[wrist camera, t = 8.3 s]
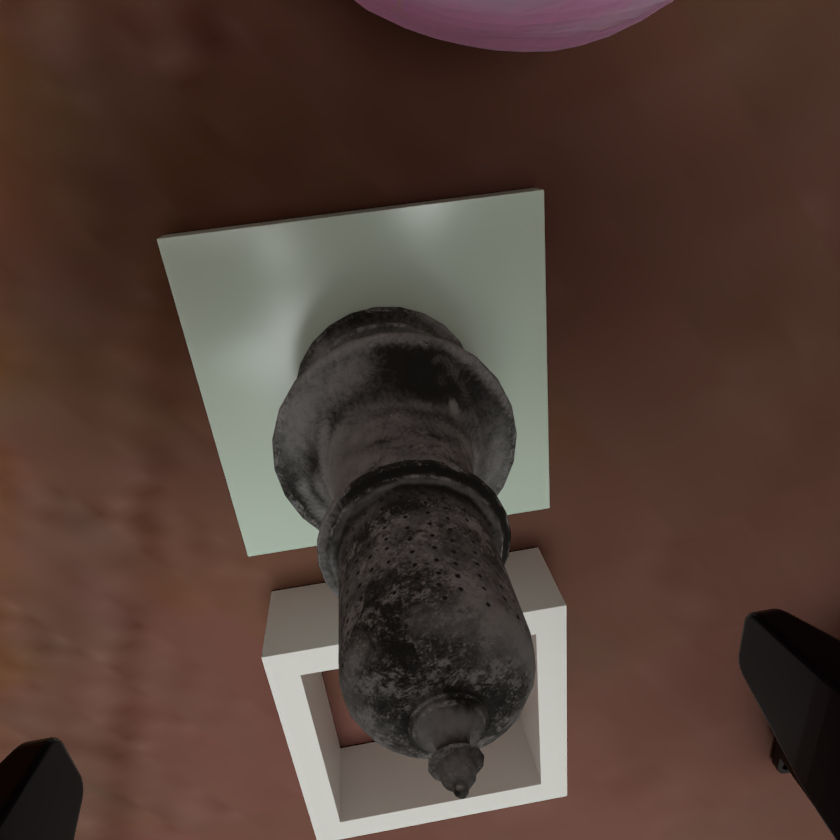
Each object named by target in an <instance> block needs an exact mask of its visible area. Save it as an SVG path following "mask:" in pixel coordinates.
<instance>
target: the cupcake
mask: <svg viewBox="0 0 840 840" xmlns="http://www.w3.org/2000/svg"><path fill="white" fill-rule="evenodd" d="M354 1H356V2H357V3H358V4H360V5H361V6H362V7H363V8H365V9H366V10H368V11H370V12H372V13H374V14H376V15H378V16H380V17H382V18H384V19H387V20H389V21H391V22H393V23H395V24H397V25H399V26H401V27H403V28H406V29H409V30H412V31H414V32H417V33H420V34H423V35H426V36H429V37H432V38H435V39H439V40H443V41H447V42H452V43H456V44H460V45H465V46H470V47H476V48H483V49H489V50H495V51H512V52H548V51H557V50H562V49H567V48H572V47H577V46H581V45H584V44H587V43H591V42H594V41H597V40H600V39H603V38H606V37H609V36H611V35H613V34H615V33H617V32H619V31H621V30H623V29H626V28H628V27H630V26H632V25H634V24H636V23H638V22H640V21H642V20H644V19H645V18H647V17H648V16H650V15H651V14H653V13H655V12H656V11H658V10H659V9H661V8H662V7H664V6H666V5H668V4H669V3H671V2H673V1H674V0H354Z"/></svg>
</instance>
